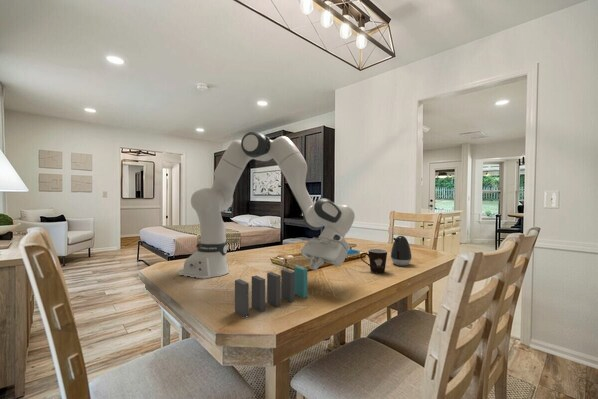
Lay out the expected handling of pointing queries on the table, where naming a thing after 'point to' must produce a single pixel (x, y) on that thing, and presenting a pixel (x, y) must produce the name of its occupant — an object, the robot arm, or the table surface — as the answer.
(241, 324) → the table surface
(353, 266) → the table surface
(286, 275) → the domino
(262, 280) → the domino
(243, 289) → the domino
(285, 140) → the robot arm
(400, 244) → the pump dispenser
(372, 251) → the coffee mug
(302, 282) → the domino
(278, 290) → the domino
